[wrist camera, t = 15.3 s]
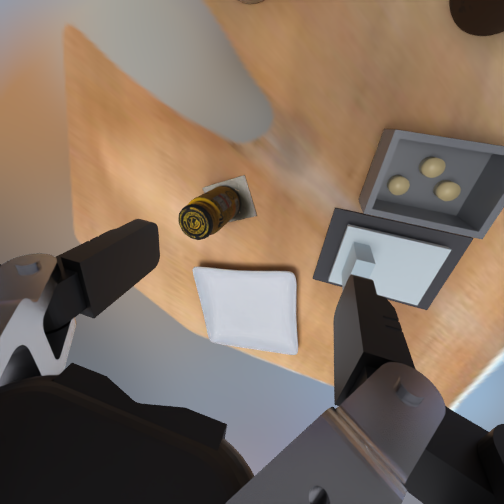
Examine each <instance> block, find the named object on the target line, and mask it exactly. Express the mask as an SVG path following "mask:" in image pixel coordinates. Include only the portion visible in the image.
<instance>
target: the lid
mask: <svg viewBox="0 0 504 504" xmlns="http://www.w3.org/2000/svg"><path fill="white" fill-rule="evenodd" d="M450 252H451V249H450V248H449V247H446V246H442V245H438V244H433V243H429V242H425V241H420V240H416V239H412V238H407V237H403V236H398V235H394V234H390V233H385V232H381V231H377V230H372V229H368V228H364V227H359V226H355V225H350V224H348V225H347V228H346V231H345V233H344V236H343V239H342V242H341V244H340V247H339V250H338V253H337V256H336V258H335V261H334V264H333V267H332V269H331V272H330V275H329V278H328V281H329V282H333V283H337V284H340V285H342V289H343V290H344V287H345V285H346V282H347V280H348V278H349V276H350V275H351V274H353V275H356V276H360V277H364V278H368V279H372V280H373V281H374V285H375V289H376V292H377V295H381V296H384V297H388V298H391V299H395V300H399V301H402V302H406V303H410V304H413V305H418V303H419V302H420V300H421V299H422V297H423V295H424V294H425V292H426V291H427V289H428V287H429V286H430V284H431V282H432V281H433V279H434V278H435V276H436V274H437V273H438V271H439V269H440V268H441V266H442V265H443V263H444V261H445V260H446V258H447V257H448V255H449V253H450Z"/></svg>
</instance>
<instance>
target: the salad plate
mask: <svg viewBox="0 0 504 504" xmlns="http://www.w3.org/2000/svg"><path fill="white" fill-rule="evenodd" d="M193 274H194V279H195V282H196V286H197V290H198V294H199V298H200V302H201V306H202V310H203V314H204V318H205V323H206V328H207V333H208V336H209V340H210V341H211V342H213V343H217V344H223V345H229V346H235V347H242V348H249V349H256V350H262V351H269V352H276V353H282V354H289V355H296V354H297V353H298V337H297V321H296V290H297V284H296V277H295V275H294V273H292V272H290V271H244V270H229V269H218V268H209V267H194V268H193Z"/></svg>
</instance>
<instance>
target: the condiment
mask: <svg viewBox="0 0 504 504" xmlns="http://www.w3.org/2000/svg"><path fill="white" fill-rule="evenodd" d="M235 189H237V190H239V191H237V190H235ZM203 191H204V194H202V195H200V196H199V197H196V198H194V199H193V200H192V201H191V202H190V203H189V204H188V205H187V206H185V207H184V208H183V209H182V211H181V212H180V213H179V224H180V227H181V229H182V231H183V232H184V233H185V234H186V235H187V236H189V237H190V238H192V239H196V240H201V239H205V238H206V237H208V236H209V235H212V234H215V233H216V232H218V231H219V230H220V229H221V228H222V227H223V226H224V225H225V224H227V222H231V221H236V220H240V219H245V218H249V217H254V216H257V215H256V212H255V208H254V205H253V201H252V198H251V195H250V191H249V188H248V185H247V182H246V179H245V175H243V176H240V177H237V178H234V179H230V180H227V181H224V182H220V183H217V184H214V185H210V186H207V187H204V188H203ZM239 212H240V213H239Z"/></svg>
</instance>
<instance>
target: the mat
mask: <svg viewBox="0 0 504 504" xmlns="http://www.w3.org/2000/svg"><path fill="white" fill-rule="evenodd" d="M348 224H350V225H355V226H359V227H364V228H368V229H372V230H377V231H381V232H385V233H390V234H394V235H398V236H403V237H407V238H412V239H416V240H420V241H425V242H429V243H433V244H438V245H442V246H446V247H449V248H450V249H451V252H450V253H449V255H448V257H447V258H446V260H445V261H444V263H443V265H442V266H441V268H440V269H439V271H438V273H437V274H436V276H435V278H434V279H433V281H432V282H431V284H430V286H429V287H428V289H427V291H426V292H425V294H424V295H423V297H422V299H421V300H420V302H419V303H418V305H413V304H410V303H406V302H402V301H399V300H395V299H391V298H388V297H385V298H386V299H388V300H392V301H395V302H399V303H403V304H406V305H410V306H414V307H417V308H421V309H425V310H427V309H428V308H429V306H430V305H431V303H432V302H433V300H434V298H435V297H436V295H437V294H438V292H439V291H440V289H441V288H442V286H443V285H444V283H445V282H446V280H447V278H448V277H449V275H450V274H451V272H452V271H453V269H454V268H455V266H456V265H457V263H458V262H459V260H460V258H461V257H462V255H463V254H464V252H465V251H466V249H467V248H468V246H469V245H470V243H471V241H472V240H473V238H471V237H467V236H462V235H458V234H453V233H449V232H444V231H439V230H435V229H430V228H426V227H421V226H417V225H412V224H407V223H403V222H398V221H394V220H389V219H384V218H380V217H375V216H371V215H366V214H362V213H357V212H352V211H348V210H343V209H339V208H335V210H334V213H333V216H332V219H331V222H330V225H329V229H328V232H327V235H326V238H325V241H324V244H323V247H322V250H321V254H320V257H319V260H318V263H317V266H316V269H315V272H314V276H313V279H315V280H319V281H322V282H326V283H330V284H333V285H337V286H341V287H342V285H340V284H337V283H333V282H329V281H328V278H329V275H330V272H331V269H332V267H333V264H334V261H335V258H336V256H337V253H338V250H339V247H340V244H341V242H342V239H343V236H344V233H345V231H346V228H347V225H348ZM379 296H381V295H379ZM383 297H384V296H383Z"/></svg>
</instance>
